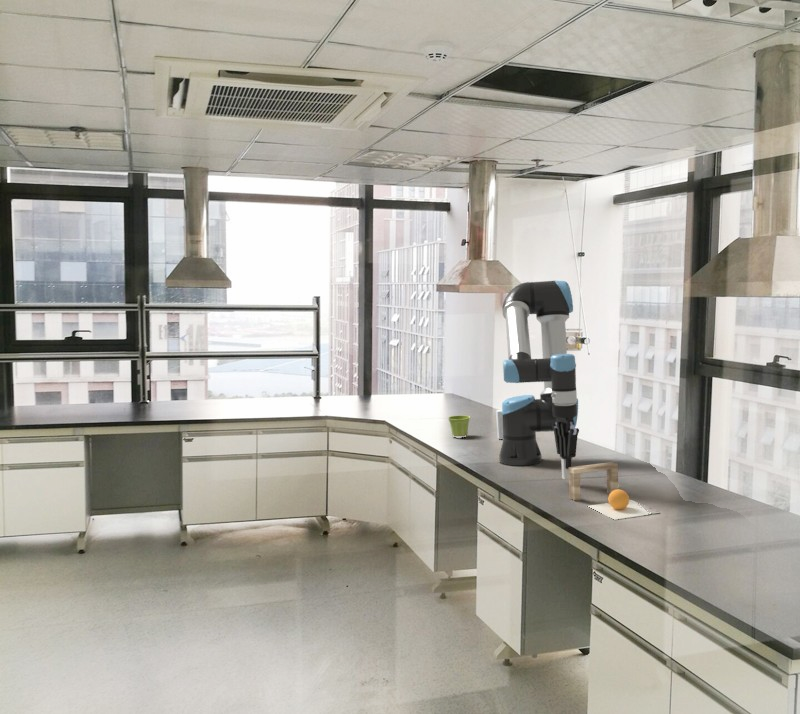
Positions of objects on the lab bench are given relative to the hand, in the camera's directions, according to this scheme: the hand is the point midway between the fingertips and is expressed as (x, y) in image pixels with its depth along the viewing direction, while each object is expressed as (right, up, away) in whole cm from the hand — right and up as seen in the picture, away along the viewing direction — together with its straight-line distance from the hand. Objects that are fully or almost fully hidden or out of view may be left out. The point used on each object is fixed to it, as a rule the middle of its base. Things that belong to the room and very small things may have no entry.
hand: (567, 478), depth 237 cm
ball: (+8, -1, -29) cm, 30 cm away
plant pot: (-27, +4, +85) cm, 89 cm away
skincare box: (-9, +4, +77) cm, 77 cm away
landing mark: (+9, -4, -30) cm, 31 cm away
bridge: (+5, -3, -15) cm, 16 cm away
